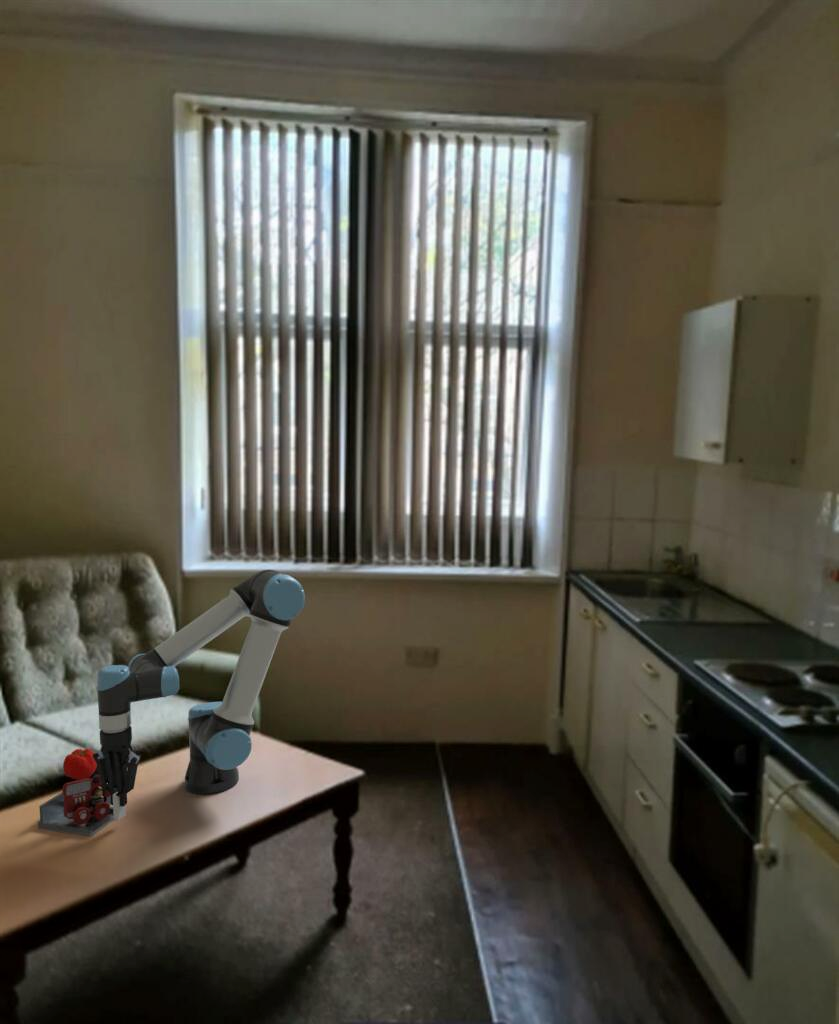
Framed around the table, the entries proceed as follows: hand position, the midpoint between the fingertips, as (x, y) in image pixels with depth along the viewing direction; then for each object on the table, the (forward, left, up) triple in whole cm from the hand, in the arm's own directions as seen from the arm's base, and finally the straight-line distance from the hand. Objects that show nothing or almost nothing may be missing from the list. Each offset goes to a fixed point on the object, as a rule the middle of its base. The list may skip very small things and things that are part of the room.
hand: (119, 817), depth 191 cm
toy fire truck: (+10, 0, -2) cm, 10 cm away
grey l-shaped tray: (+12, 0, -3) cm, 13 cm away
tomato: (+31, -23, -3) cm, 39 cm away
